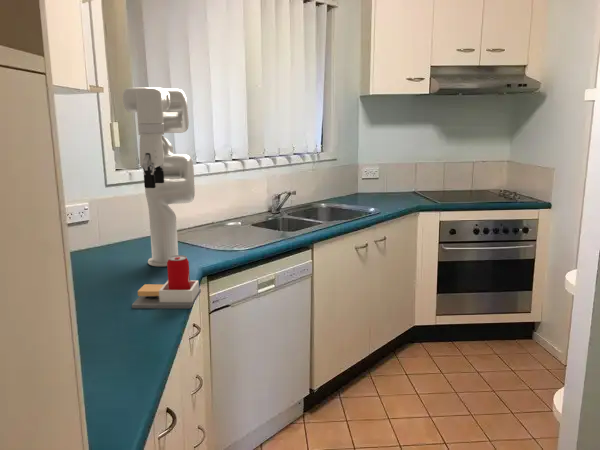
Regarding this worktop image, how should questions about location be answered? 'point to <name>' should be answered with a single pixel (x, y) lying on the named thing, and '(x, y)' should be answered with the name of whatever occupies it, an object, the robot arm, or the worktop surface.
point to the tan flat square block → (150, 290)
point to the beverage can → (178, 273)
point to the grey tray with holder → (170, 297)
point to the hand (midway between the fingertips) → (154, 185)
